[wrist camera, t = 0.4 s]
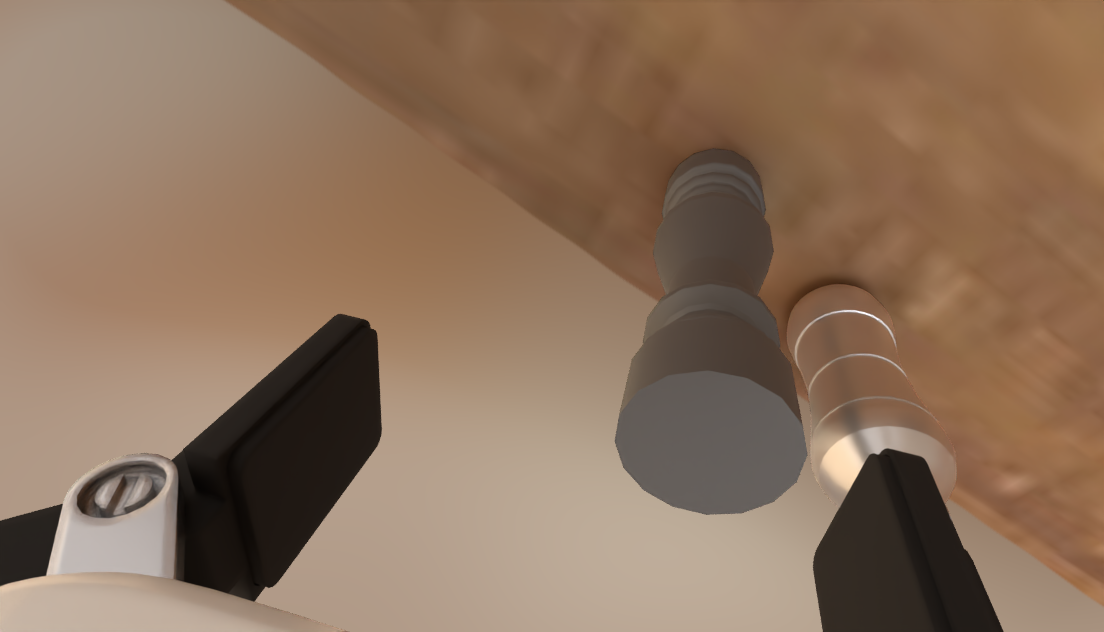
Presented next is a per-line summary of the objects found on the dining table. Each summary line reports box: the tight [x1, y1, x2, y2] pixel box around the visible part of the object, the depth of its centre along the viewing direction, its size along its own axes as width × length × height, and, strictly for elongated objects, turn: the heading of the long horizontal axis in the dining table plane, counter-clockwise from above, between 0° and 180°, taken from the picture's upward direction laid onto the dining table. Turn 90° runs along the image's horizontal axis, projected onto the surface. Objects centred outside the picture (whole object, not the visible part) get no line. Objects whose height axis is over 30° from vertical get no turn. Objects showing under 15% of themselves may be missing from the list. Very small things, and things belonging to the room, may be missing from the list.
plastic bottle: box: [786, 284, 957, 520], centre depth 33 cm, size 6×7×20 cm
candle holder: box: [615, 149, 807, 515], centre depth 28 cm, size 6×6×25 cm
